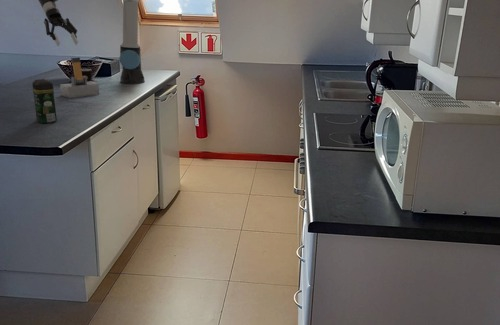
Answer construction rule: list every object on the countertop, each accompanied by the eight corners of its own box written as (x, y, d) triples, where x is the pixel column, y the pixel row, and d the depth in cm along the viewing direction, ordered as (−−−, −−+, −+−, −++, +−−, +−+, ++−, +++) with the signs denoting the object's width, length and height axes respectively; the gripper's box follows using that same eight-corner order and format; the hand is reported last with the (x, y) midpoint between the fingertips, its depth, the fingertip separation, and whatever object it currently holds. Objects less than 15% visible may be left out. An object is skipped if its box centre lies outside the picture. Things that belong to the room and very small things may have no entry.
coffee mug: (95, 85, 300) (93, 69, 297) (89, 88, 292) (88, 71, 289) (76, 84, 301) (75, 68, 298) (70, 87, 293) (69, 70, 290)
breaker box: (61, 95, 271) (59, 77, 268) (91, 91, 283) (89, 74, 280) (68, 98, 265) (66, 79, 262) (99, 94, 277) (97, 76, 274)
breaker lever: (74, 83, 271) (70, 58, 268) (82, 83, 274) (78, 57, 271) (76, 83, 270) (72, 58, 267) (84, 83, 273) (80, 57, 270)
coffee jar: (34, 119, 222) (29, 78, 215) (52, 117, 226) (48, 77, 220) (40, 124, 214) (35, 82, 208) (59, 122, 219) (54, 81, 213)
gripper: (69, 16, 287) (84, 46, 282) (30, 17, 272) (46, 49, 267) (72, 7, 282) (88, 38, 277) (33, 7, 267) (49, 40, 262)
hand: (67, 43), depth 272 cm, fingers open, 10 cm apart
